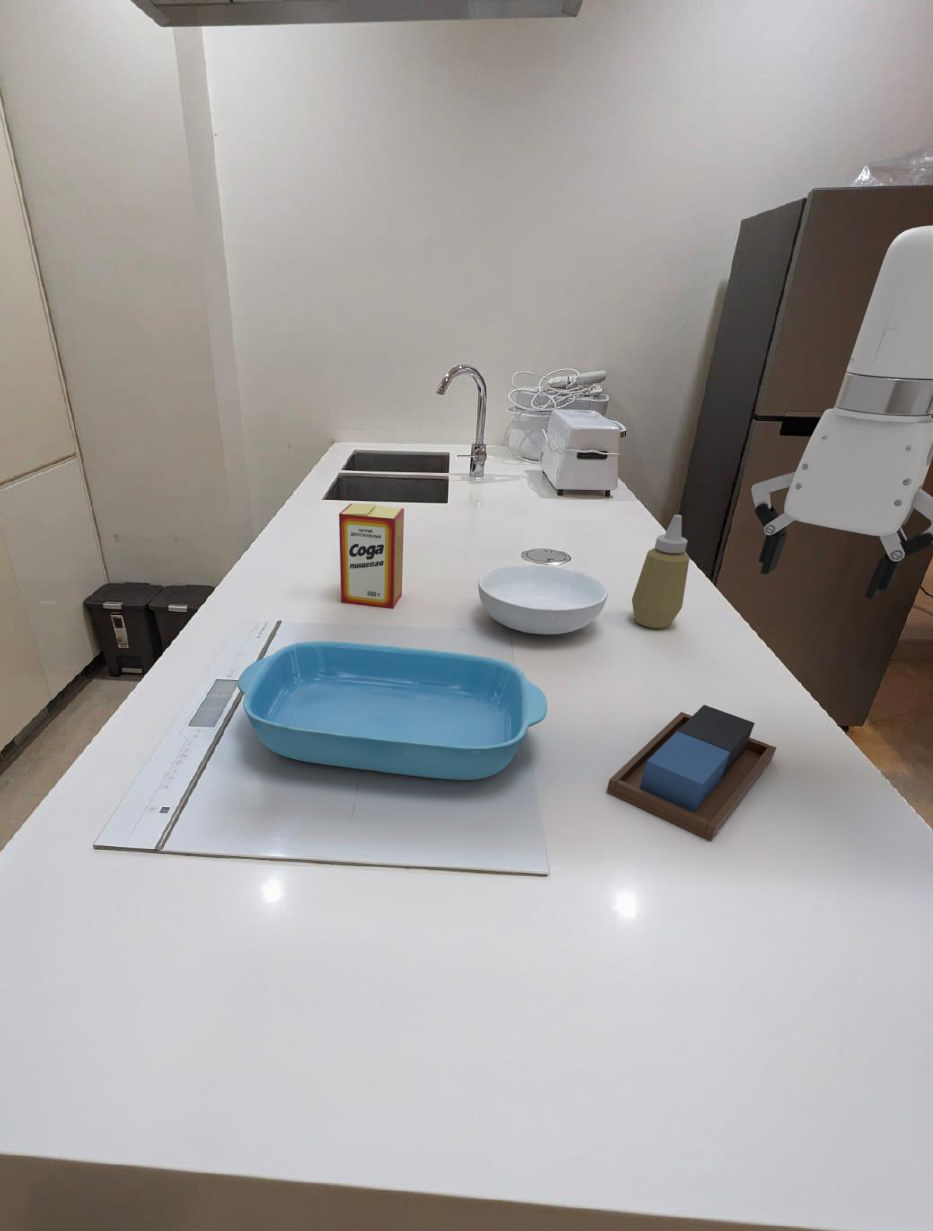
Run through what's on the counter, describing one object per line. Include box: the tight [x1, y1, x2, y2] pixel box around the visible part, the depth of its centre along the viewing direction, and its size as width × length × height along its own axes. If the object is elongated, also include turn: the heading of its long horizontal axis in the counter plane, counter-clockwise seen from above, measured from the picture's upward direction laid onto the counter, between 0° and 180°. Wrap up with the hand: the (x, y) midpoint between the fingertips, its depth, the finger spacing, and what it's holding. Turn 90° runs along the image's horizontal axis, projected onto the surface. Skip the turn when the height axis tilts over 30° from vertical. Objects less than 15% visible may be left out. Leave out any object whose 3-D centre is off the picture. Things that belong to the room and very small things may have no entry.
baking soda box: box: [338, 503, 405, 609], centre depth 116 cm, size 10×6×16 cm
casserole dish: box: [237, 640, 548, 781], centre depth 82 cm, size 37×22×7 cm, turn 81°
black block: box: [678, 704, 756, 779], centre depth 79 cm, size 6×8×4 cm
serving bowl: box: [477, 563, 609, 635], centre depth 111 cm, size 21×21×7 cm
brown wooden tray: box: [606, 711, 777, 842], centre depth 77 cm, size 12×20×2 cm, turn 138°
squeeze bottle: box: [631, 514, 690, 629], centre depth 109 cm, size 8×8×18 cm
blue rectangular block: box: [640, 731, 730, 813], centre depth 74 cm, size 6×8×4 cm
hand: (817, 582), depth 68 cm, fingers open, 9 cm apart
